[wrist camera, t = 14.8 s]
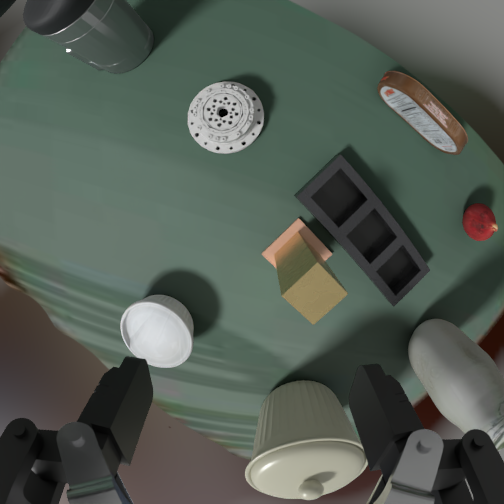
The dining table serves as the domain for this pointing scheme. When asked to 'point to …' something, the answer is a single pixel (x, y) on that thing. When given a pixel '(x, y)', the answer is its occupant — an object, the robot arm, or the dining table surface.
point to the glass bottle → (459, 378)
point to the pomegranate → (479, 222)
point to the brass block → (307, 279)
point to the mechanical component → (225, 117)
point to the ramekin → (158, 330)
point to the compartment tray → (363, 228)
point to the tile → (288, 233)
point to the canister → (304, 444)
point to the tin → (422, 112)
